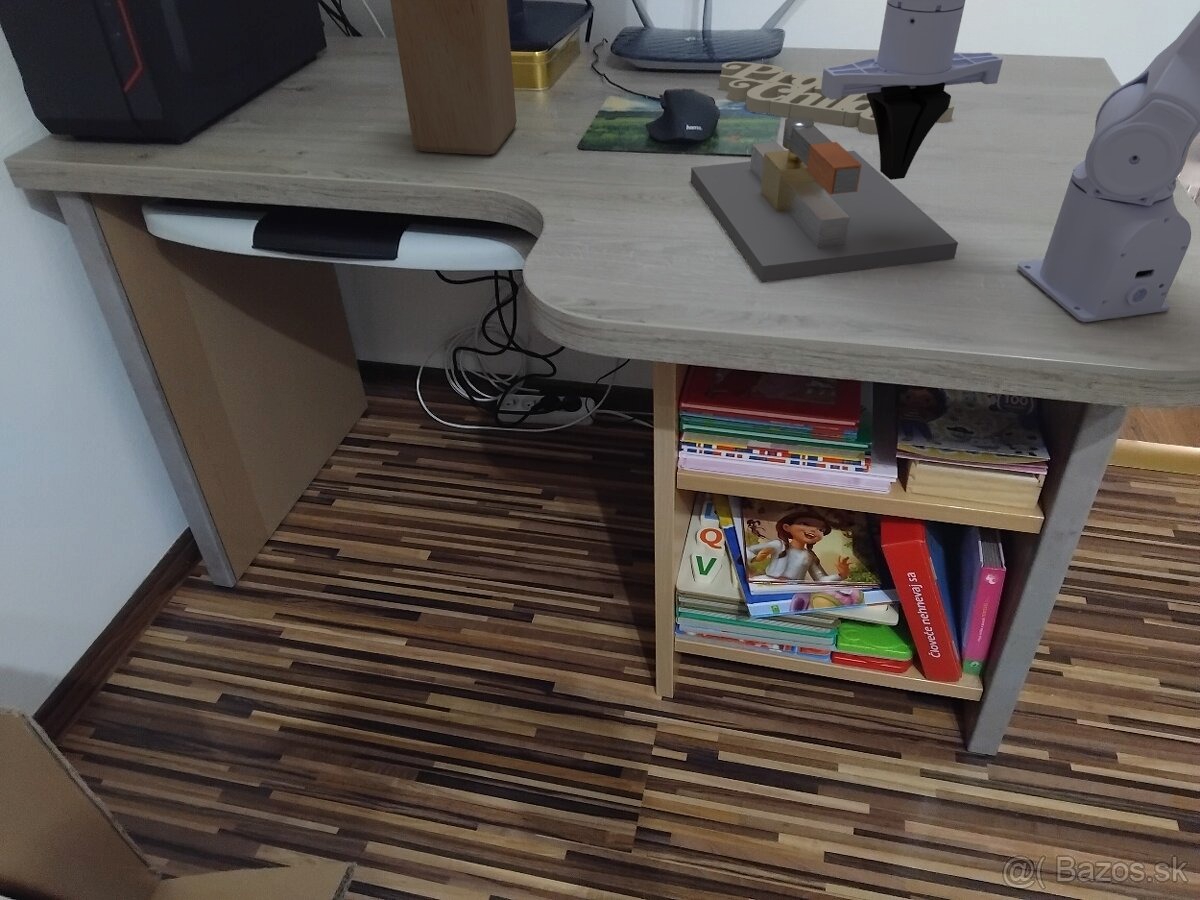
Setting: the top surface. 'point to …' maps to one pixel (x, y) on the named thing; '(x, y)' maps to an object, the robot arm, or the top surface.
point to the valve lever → (821, 156)
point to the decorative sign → (797, 96)
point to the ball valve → (798, 194)
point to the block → (456, 73)
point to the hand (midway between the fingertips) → (892, 174)
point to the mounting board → (782, 250)
